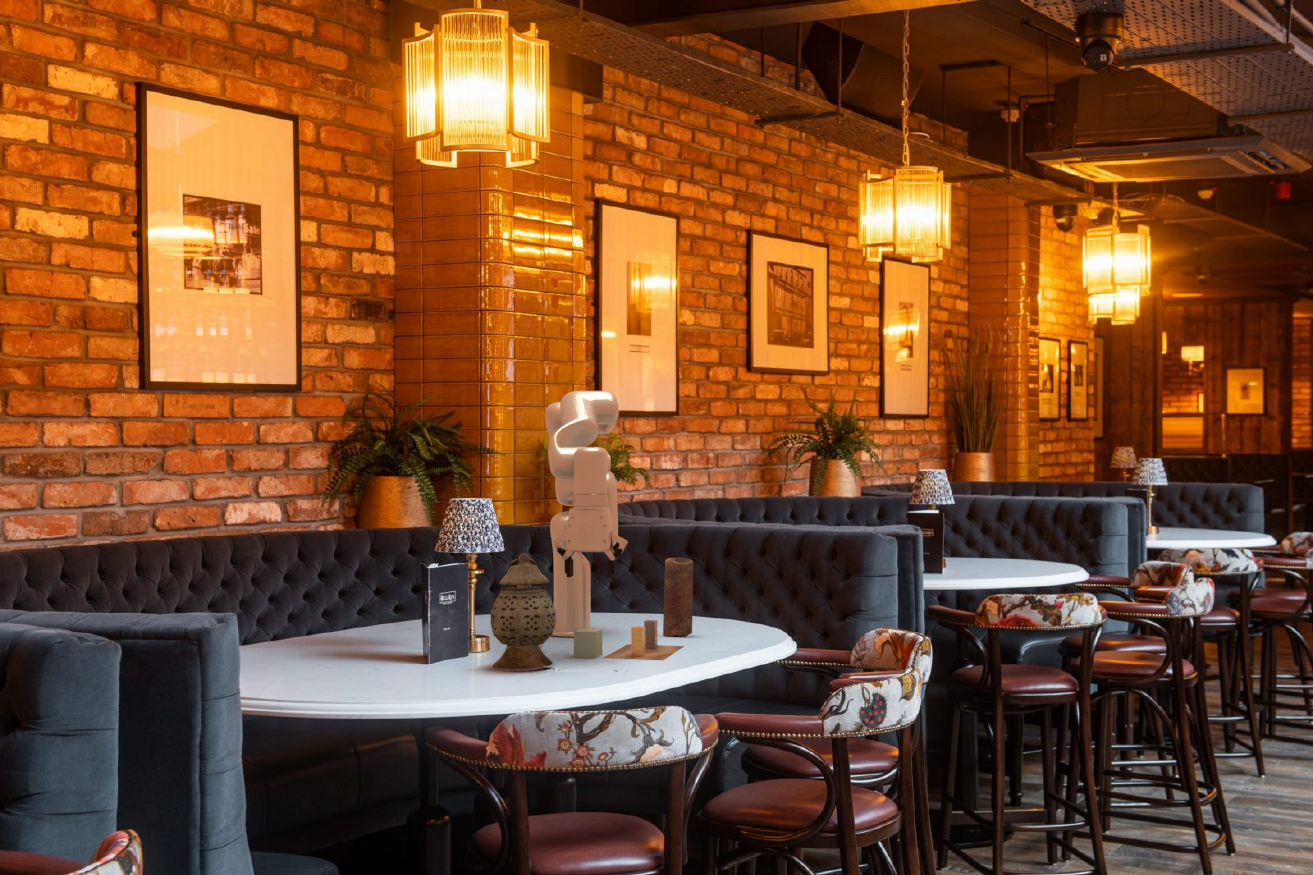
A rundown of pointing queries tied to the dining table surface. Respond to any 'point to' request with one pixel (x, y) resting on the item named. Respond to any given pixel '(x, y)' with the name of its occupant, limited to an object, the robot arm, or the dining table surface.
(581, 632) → the olive block
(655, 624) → the brown post
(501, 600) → the lantern
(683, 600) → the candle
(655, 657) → the board
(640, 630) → the brass post
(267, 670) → the dining table surface
